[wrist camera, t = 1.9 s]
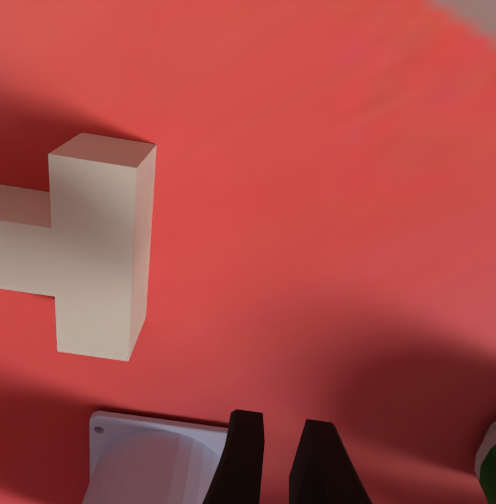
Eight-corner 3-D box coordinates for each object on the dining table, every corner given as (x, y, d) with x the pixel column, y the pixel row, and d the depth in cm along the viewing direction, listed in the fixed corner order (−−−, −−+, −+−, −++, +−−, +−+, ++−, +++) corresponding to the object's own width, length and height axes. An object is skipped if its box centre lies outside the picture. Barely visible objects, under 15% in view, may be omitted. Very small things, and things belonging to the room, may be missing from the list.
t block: (145, 317, 21) (128, 361, 18) (-28, 291, 20) (-72, 333, 18) (156, 144, 17) (136, 168, 14) (-55, 110, 17) (-115, 128, 14)
